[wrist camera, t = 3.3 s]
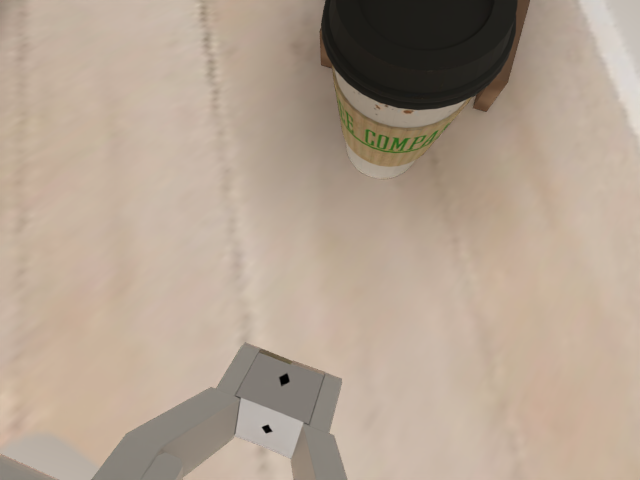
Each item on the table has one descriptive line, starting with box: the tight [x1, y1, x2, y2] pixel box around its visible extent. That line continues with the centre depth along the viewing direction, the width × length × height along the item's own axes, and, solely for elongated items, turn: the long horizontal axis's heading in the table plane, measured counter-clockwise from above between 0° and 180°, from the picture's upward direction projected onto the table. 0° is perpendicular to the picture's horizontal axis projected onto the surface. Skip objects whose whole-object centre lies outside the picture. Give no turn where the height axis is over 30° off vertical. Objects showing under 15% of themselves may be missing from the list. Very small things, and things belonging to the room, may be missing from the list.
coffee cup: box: [321, 0, 518, 179], centre depth 24 cm, size 10×10×15 cm
